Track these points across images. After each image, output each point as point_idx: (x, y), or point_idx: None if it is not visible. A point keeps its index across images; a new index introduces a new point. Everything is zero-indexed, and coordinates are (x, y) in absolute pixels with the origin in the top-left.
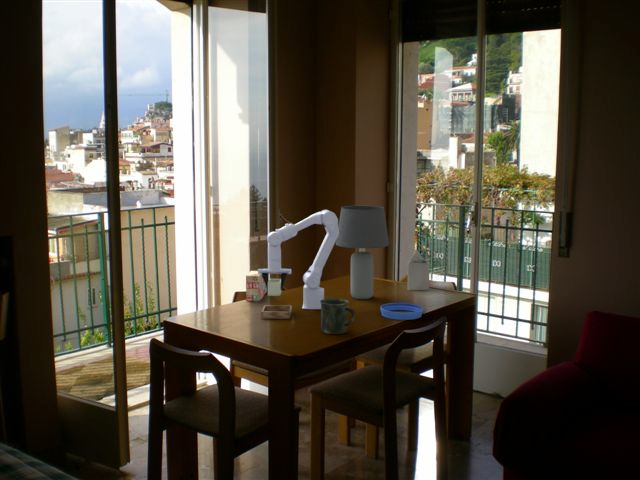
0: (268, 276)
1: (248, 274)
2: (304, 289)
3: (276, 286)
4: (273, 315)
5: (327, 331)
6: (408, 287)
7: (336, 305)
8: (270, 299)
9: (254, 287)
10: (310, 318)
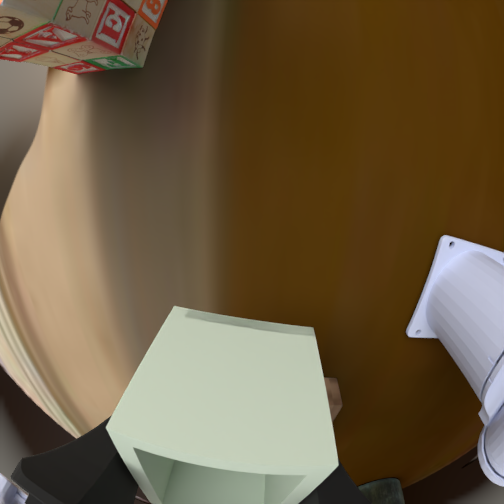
0: (98, 490)
1: None
2: (478, 387)
3: (239, 489)
4: None
5: None
6: None
7: None
8: (227, 15)
9: (55, 43)
10: (372, 439)
